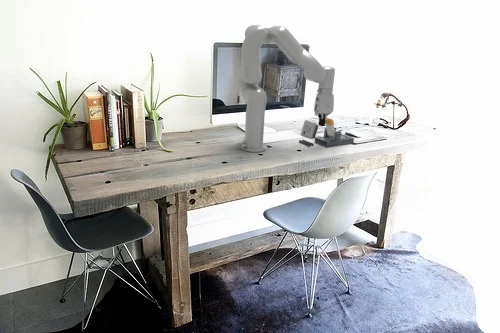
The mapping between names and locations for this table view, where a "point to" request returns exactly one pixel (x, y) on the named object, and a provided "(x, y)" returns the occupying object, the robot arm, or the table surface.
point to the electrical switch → (309, 129)
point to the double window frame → (333, 140)
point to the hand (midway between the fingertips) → (321, 125)
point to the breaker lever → (330, 127)
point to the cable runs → (306, 143)
